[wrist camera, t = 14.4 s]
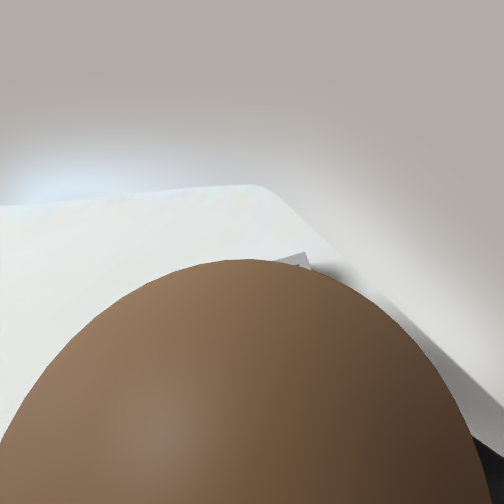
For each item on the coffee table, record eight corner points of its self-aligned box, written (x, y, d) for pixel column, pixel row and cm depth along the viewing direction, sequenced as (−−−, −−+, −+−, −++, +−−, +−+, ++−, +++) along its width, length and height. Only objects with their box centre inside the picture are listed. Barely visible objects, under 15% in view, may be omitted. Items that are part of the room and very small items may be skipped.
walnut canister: (282, 379, 14) (603, 856, 2) (203, 391, 14) (-137, 1141, 1) (272, 299, 16) (412, 242, 3) (199, 308, 15) (9, 280, 3)
